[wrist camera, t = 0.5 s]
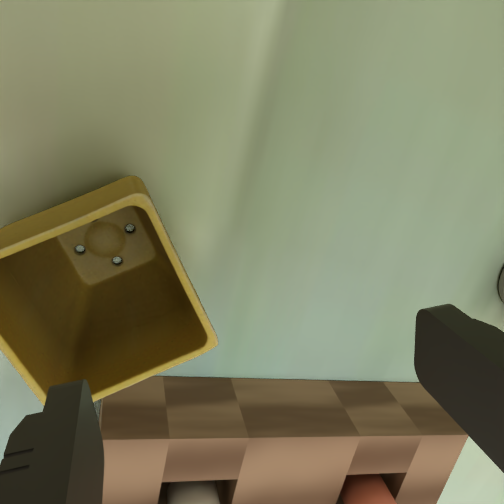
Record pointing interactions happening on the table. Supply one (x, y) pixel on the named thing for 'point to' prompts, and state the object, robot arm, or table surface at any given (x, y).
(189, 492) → the grey plug
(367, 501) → the red plug
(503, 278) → the travel mug
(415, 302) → the table surface
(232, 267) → the table surface
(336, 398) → the block
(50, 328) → the flower pot
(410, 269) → the table surface
